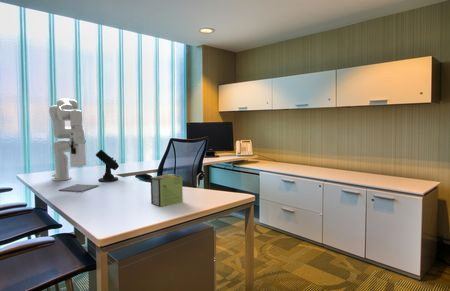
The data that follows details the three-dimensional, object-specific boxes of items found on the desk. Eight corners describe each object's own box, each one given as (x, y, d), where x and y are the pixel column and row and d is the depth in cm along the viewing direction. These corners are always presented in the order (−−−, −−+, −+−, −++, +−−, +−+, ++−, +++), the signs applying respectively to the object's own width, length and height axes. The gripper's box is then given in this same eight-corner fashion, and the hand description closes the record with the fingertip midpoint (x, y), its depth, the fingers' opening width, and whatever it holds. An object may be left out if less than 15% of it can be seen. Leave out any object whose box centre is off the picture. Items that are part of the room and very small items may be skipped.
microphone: (96, 179, 242) (95, 149, 239) (118, 177, 249) (117, 148, 247) (96, 183, 228) (95, 150, 226) (120, 181, 235) (119, 149, 233)
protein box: (183, 201, 176) (182, 175, 174) (160, 207, 165) (159, 179, 164) (172, 198, 183) (172, 173, 182) (150, 203, 172) (150, 177, 171)
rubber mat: (58, 190, 203) (58, 189, 203) (77, 185, 220) (76, 184, 220) (81, 192, 199) (81, 191, 199) (98, 186, 217) (98, 185, 217)
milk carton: (86, 165, 212) (84, 139, 210) (80, 167, 205) (79, 139, 203) (76, 165, 212) (75, 138, 211) (70, 167, 205) (69, 139, 204)
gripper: (72, 128, 197) (73, 154, 198) (89, 127, 214) (90, 151, 215) (62, 128, 198) (63, 154, 200) (80, 127, 215) (81, 151, 217)
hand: (77, 152), depth 208 cm, fingers closed on milk carton, 7 cm apart
